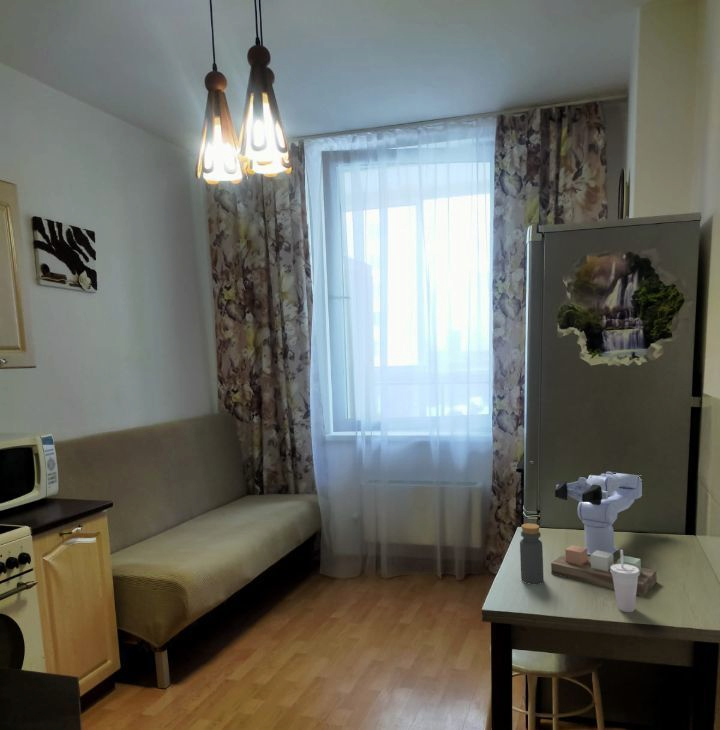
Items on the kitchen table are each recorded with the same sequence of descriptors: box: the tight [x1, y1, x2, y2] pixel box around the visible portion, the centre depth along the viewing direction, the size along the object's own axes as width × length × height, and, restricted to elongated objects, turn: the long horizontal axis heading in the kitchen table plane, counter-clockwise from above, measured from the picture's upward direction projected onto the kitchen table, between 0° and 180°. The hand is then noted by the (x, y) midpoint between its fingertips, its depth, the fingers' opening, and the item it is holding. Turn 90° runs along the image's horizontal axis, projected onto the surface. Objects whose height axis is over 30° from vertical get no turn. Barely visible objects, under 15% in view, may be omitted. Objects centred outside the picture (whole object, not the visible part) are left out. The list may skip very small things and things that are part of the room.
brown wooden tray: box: [550, 552, 658, 597], centre depth 155 cm, size 11×24×3 cm, turn 47°
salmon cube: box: [564, 544, 589, 566], centre depth 160 cm, size 4×4×4 cm
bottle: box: [519, 522, 544, 585], centre depth 155 cm, size 6×6×15 cm
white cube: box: [590, 550, 614, 572], centre depth 155 cm, size 4×4×4 cm
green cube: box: [616, 555, 642, 574], centre depth 150 cm, size 4×4×4 cm
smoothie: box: [610, 549, 640, 613], centre depth 136 cm, size 6×6×14 cm
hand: (569, 495), depth 159 cm, fingers open, 7 cm apart
